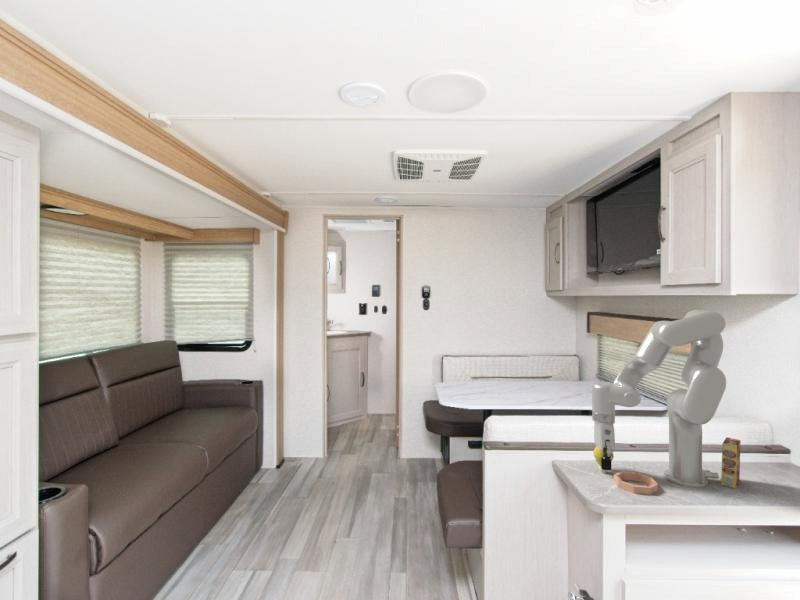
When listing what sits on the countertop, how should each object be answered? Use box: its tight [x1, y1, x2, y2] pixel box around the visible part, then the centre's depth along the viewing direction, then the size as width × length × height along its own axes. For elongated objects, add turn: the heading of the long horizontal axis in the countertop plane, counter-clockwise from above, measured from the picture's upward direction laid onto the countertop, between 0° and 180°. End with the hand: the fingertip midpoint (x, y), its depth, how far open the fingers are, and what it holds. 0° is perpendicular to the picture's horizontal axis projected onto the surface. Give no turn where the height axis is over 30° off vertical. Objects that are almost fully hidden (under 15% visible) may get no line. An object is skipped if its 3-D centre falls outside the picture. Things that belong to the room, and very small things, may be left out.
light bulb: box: [592, 446, 615, 474], centre depth 148 cm, size 7×7×10 cm
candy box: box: [720, 437, 742, 489], centre depth 138 cm, size 9×4×15 cm, turn 134°
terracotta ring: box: [613, 470, 659, 495], centre depth 136 cm, size 12×12×3 cm
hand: (603, 465), depth 148 cm, fingers closed on light bulb, 6 cm apart
